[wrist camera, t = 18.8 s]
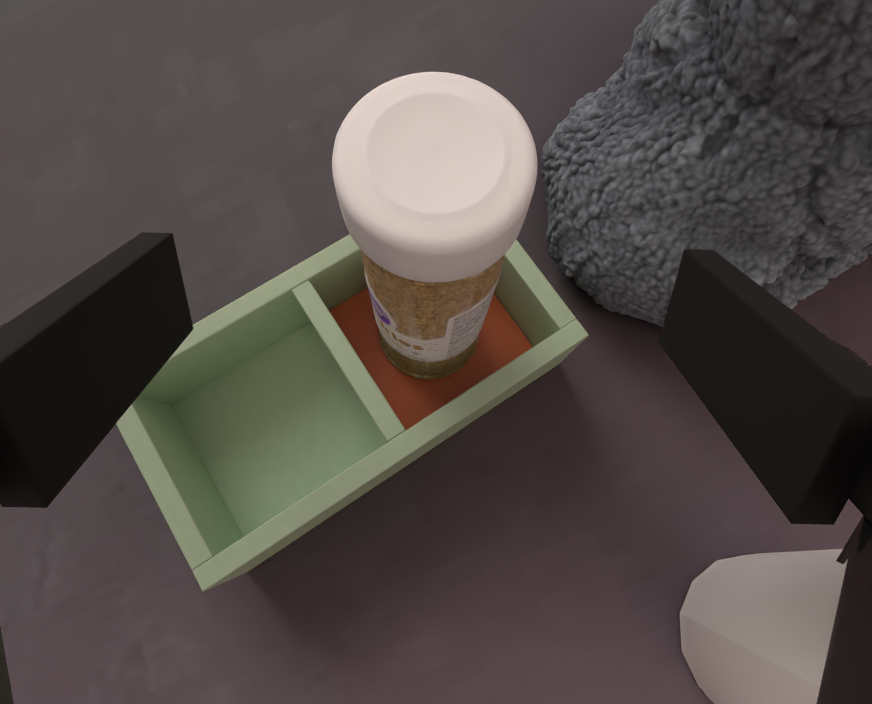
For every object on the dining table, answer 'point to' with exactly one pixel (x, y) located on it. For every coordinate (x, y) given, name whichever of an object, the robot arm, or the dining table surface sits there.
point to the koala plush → (719, 153)
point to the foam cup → (762, 626)
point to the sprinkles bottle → (433, 209)
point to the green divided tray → (315, 404)
